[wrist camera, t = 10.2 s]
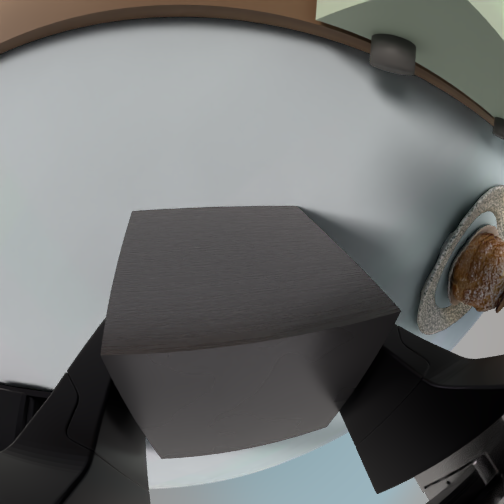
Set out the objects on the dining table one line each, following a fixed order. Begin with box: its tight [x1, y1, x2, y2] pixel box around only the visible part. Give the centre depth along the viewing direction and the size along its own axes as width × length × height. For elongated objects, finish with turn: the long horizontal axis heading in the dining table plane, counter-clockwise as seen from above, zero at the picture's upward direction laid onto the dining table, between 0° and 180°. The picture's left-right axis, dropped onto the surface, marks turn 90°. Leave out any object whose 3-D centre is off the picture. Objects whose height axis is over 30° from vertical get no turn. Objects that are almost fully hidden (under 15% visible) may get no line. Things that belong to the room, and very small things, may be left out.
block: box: [100, 206, 401, 459], centre depth 7 cm, size 5×5×5 cm
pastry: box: [417, 185, 504, 335], centre depth 13 cm, size 12×12×5 cm
